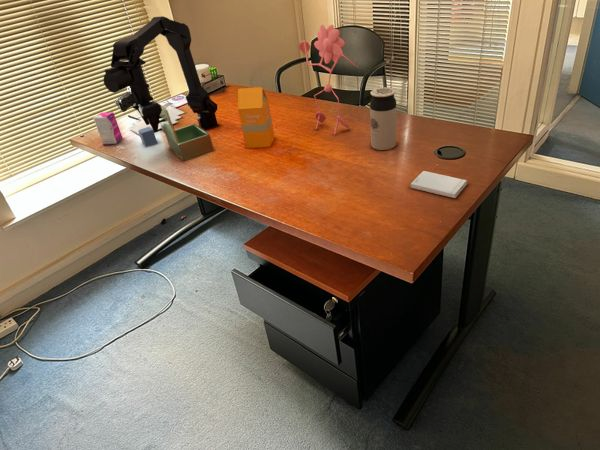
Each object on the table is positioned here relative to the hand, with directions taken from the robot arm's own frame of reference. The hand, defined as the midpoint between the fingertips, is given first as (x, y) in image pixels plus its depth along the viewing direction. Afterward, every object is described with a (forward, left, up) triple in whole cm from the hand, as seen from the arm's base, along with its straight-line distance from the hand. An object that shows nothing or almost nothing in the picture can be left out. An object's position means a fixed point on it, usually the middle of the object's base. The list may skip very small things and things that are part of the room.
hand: (151, 128), depth 150 cm
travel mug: (-60, +49, -12) cm, 78 cm away
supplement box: (+10, -33, -12) cm, 37 cm away
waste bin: (-11, 0, -12) cm, 16 cm away
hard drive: (-53, +79, -12) cm, 96 cm away
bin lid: (-5, 0, +1) cm, 6 cm away
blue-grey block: (-1, -19, -12) cm, 23 cm away
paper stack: (-11, -41, -12) cm, 44 cm away
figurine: (-60, +24, -12) cm, 66 cm away
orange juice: (-32, +15, -12) cm, 37 cm away
